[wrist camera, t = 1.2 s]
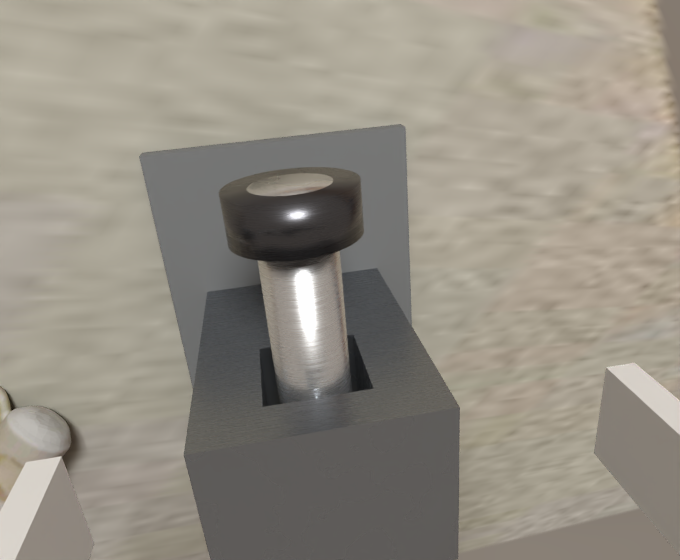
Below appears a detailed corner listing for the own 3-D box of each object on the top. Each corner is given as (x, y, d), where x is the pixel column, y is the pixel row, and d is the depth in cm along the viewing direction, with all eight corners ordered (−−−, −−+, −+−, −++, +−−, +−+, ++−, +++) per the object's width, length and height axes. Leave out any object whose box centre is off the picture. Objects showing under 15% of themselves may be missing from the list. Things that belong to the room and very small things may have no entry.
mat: (220, 493, 39) (220, 504, 38) (142, 152, 29) (139, 156, 28) (412, 458, 40) (416, 467, 39) (400, 124, 30) (405, 126, 29)
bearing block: (230, 395, 36) (223, 607, 22) (208, 284, 32) (183, 455, 19) (380, 371, 37) (458, 559, 23) (373, 262, 33) (459, 407, 20)
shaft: (291, 580, 32) (299, 673, 27) (221, 176, 22) (215, 212, 17) (377, 562, 33) (400, 650, 28) (347, 161, 23) (374, 192, 18)
